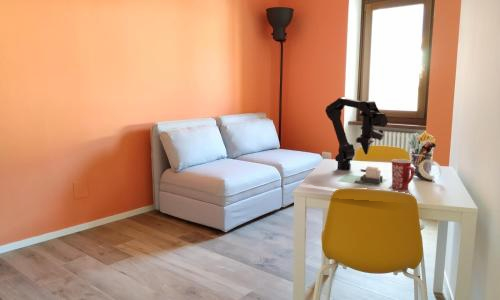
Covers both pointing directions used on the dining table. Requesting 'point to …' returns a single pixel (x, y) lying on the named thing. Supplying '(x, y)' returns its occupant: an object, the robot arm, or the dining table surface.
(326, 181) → the dining table surface
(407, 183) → the mug
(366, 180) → the header
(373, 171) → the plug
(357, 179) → the board
